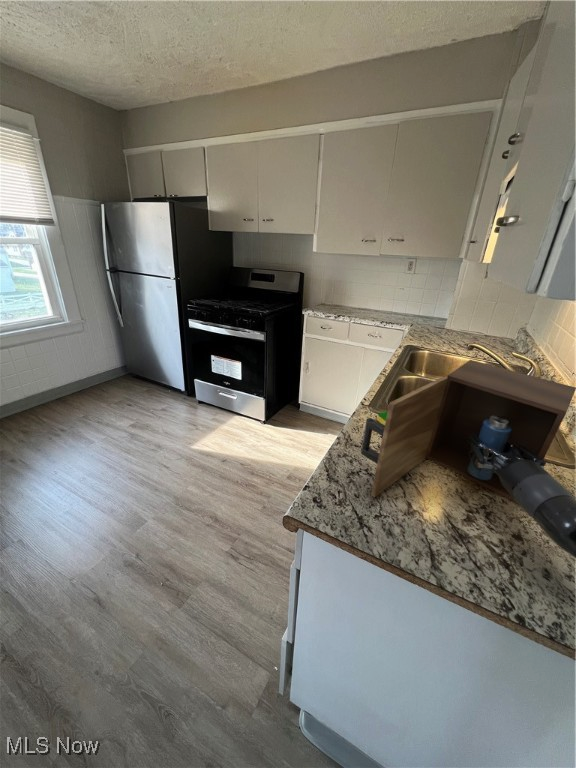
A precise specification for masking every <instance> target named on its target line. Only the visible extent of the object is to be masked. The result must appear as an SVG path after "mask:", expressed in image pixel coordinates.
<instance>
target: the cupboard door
mask: <svg viewBox="0 0 576 768" xmlns="http://www.w3.org/2000/svg"><path fill="white" fill-rule="evenodd" d="M447 380H448V377H447V376H445V375H444V376H441V377H439V378H437V379H435V380H433V381H431V382H429V383H427V384H425V385H423V386H421V387H419V388H417V389H415V390H412V391H410V392H408V393H407V394H405V395H402V396H400V397H398V398H396V399H394V400H392V401H390V402H389V404H388V408H387V412H388V413H387V418H386V423H385V425H383V424H382V423H380V422H379V421H378V420H375V419H374V418H372V417H368V418H366V421H365V427H364V433H363V437H362V444H361V450H360V454H361V455H362V456H364V457H365V458H367V459H368V460H370V461H372V462H373V463H375V464H376V468H375V472H374V478H373V483H372V488H371V492H370V496H371V497H372V498H377V496H379V495H380V494H382V492H384V491H386V490H387V489H388V488H389V487H391V486H392V485H393V484H394V483H396V482H398V480H400V479H401V478H403V477H404V476H405V475H406V474H408V473H409V472H410V471H412V470H413V469H415V468H416V467H417V466H418V465H419V464H421V463H422V462H423V461H425V460H426V458H425V457H426V454H427V450H428V447H429V443H430V439H431V436H432V432H433V429H434V425H435V422H436V418H437V415H438V411H439V408H440V404H441V401H442V397H443V394H444V390H445V387H446V383H447ZM373 432H374V433H377V434H379V435H380V436H382V438H381V444H380V448H379V452H378V451H376V450H374V449H373V448H371V447H370V445H371V439H372V434H373Z"/></svg>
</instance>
